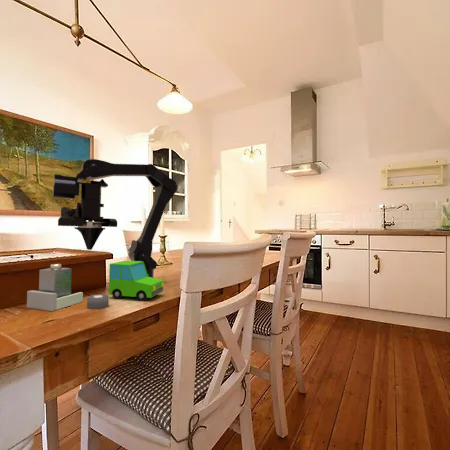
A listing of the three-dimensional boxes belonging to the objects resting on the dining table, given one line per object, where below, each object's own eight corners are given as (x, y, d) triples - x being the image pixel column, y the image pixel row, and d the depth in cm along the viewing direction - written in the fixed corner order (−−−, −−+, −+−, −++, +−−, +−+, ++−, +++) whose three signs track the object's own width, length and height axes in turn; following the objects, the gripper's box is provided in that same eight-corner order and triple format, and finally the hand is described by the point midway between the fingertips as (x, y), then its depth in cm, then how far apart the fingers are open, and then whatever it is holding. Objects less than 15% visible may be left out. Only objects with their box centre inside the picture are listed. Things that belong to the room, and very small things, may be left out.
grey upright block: (56, 300, 74) (57, 262, 74) (70, 302, 73) (71, 263, 73) (38, 305, 69) (39, 265, 69) (53, 307, 68) (54, 266, 68)
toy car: (150, 303, 75) (151, 266, 75) (106, 299, 77) (107, 264, 77) (165, 294, 85) (166, 262, 85) (126, 291, 87) (127, 260, 87)
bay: (59, 298, 77) (59, 284, 77) (82, 301, 74) (82, 286, 74) (26, 307, 68) (27, 291, 68) (52, 311, 66) (52, 294, 66)
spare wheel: (97, 302, 74) (97, 293, 74) (112, 304, 72) (112, 295, 72) (82, 308, 69) (82, 297, 69) (98, 310, 67) (98, 299, 67)
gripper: (92, 203, 98) (91, 246, 98) (44, 197, 80) (42, 250, 80) (118, 202, 94) (117, 248, 94) (74, 196, 77) (72, 252, 76)
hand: (89, 249), depth 86 cm, fingers closed
